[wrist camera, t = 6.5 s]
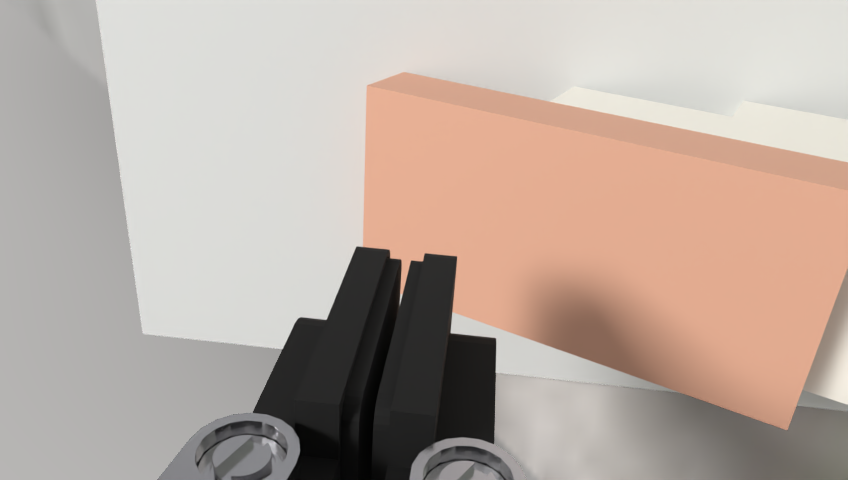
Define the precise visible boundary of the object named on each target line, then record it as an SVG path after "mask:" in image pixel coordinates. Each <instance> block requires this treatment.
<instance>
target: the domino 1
mask: <svg viewBox="0 0 848 480" xmlns="http://www.w3.org/2000/svg"><path fill="white" fill-rule="evenodd" d="M363 247H369V248H379V249H388V250H390V258H393V259H401V261H402V270H401V289H400V294H403V291H404V287H405V283H406V279H407V275H408V270H409V266H410V262H411V260H413V261H423V259H424V254H425V253H428V254H438V255H448V256H457V267H456V278H455V289H454V300H453V311H452V312H454V313H456V314H459V315H462V316H465V317H468V318H471V319H473V320H476V321H479V322H482V323H485V324H487V325H490V326H493V327H496V328H499V329H502V330H504V331H507V332H510V333H513V334H516V335H519V336H521V337H524V338H527V339H530V340H533V341H536V342H538V343H541V344H544V345H547V346H550V347H553V348H555V349H558V350H561V351H564V352H567V353H570V354H572V355H575V356H578V357H581V358H584V359H587V360H589V361H592V362H595V363H598V364H601V365H603V366H606V367H609V368H612V369H615V370H618V371H620V372H623V373H626V374H629V375H632V376H635V377H637V378H640V379H643V380H646V381H649V382H652V383H654V384H657V385H660V386H663V387H666V388H669V389H671V390H674V391H677V392H680V393H683V394H686V395H688V396H691V397H694V398H697V399H700V400H703V401H705V402H708V403H711V404H714V405H717V406H719V407H722V408H725V409H728V410H731V411H734V412H736V413H739V414H742V415H745V416H748V417H751V418H753V419H756V420H759V421H762V422H765V423H768V424H770V425H773V426H776V427H779V428H782V429H785V430H788V427H789V425H790V422H791V419H792V416H793V414H794V411H795V408H796V406H797V403H798V400H799V398H800V395H801V392H802V389H803V387H804V384H805V381H806V379H807V376H808V373H809V371H810V368H811V365H812V363H813V360H814V357H815V354H816V352H817V349H818V346H819V344H820V341H821V338H822V336H823V333H824V330H825V327H826V325H827V322H828V319H829V317H830V314H831V311H832V309H833V306H834V303H835V301H836V298H837V295H838V292H839V290H840V287H841V284H842V282H843V279H844V276H845V274H846V271H847V268H848V162H844V161H839V160H834V159H829V158H824V157H819V156H814V155H809V154H804V153H799V152H794V151H790V150H785V149H780V148H775V147H770V146H765V145H760V144H755V143H750V142H745V141H740V140H736V139H731V138H726V137H721V136H716V135H711V134H706V133H701V132H696V131H691V130H687V129H682V128H677V127H672V126H667V125H662V124H657V123H652V122H647V121H642V120H637V119H633V118H628V117H623V116H618V115H613V114H608V113H603V112H598V111H593V110H588V109H583V108H579V107H574V106H569V105H564V104H559V103H554V102H549V101H544V100H539V99H534V98H530V97H525V96H520V95H515V94H510V93H505V92H500V91H495V90H490V89H485V88H480V87H476V86H471V85H466V84H461V83H456V82H451V81H446V80H441V79H436V78H431V77H426V76H422V75H417V74H412V73H407V72H402V73H399V74H397V75H394V76H391V77H388V78H386V79H383V80H380V81H377V82H375V83H372V84H369V85H367V92H366V135H365V177H364V220H363Z"/></svg>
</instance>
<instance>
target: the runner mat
mask: <svg viewBox="0 0 848 480" xmlns="http://www.w3.org/2000/svg"><path fill="white" fill-rule="evenodd" d="M96 5H97V13H98V20H99V27H100V34H101V41H102V48H103V55H104V62H105V69H106V77H107V84H108V91H109V98H110V105H111V111H112V119H113V126H114V133H115V140H116V148H117V155H118V161H119V169H120V175H121V183H122V190H123V197H124V204H125V212H126V218H127V225H128V233H129V240H130V247H131V254H132V261H133V268H134V276H135V283H136V290H137V296H138V304H139V311H140V318H141V325H142V332H143V334H149V335H158V336H167V337H176V338H186V339H195V340H204V341H213V342H222V343H231V344H240V345H250V346H258V347H267V348H277V349H283V347H284V345H285V343H286V341H287V339H288V337H289V335H290V333H291V330H292V328H293V326H294V324H295V322H296V321H297V319H298V318H300V317H304V318H314V319H323V320H327V318H328V315H329V313H330V310H331V308H332V305H333V303H334V300H335V298H336V295H337V293H338V290H339V288H340V285H341V283H342V280H343V278H344V276H345V273H346V271H347V268H348V266H349V263H350V261H351V258H352V256H353V253H354V251H355V249H356V247H357V246H359V247H363V220H364V177H365V135H366V92H367V85H369V84H372V83H375V82H377V81H380V80H383V79H386V78H388V77H391V76H394V75H397V74H399V73H402V72H407V73H412V74H417V75H422V76H426V77H431V78H436V79H441V80H446V81H451V82H456V83H461V84H466V85H471V86H476V87H480V88H485V89H490V90H495V91H500V92H505V93H510V94H515V95H520V96H525V97H530V98H534V99H539V100H544V101H549V102H550V101H551V100H553V99H555V98H556V97H558V96H560V95H561V94H563V93H565V92H566V91H568V90H570V89H571V88H573V87H580V88H586V89H591V90H596V91H601V92H606V93H611V94H617V95H622V96H627V97H632V98H637V99H643V100H648V101H653V102H658V103H663V104H668V105H674V106H679V107H684V108H689V109H694V110H700V111H705V112H710V113H715V114H720V115H725V116H731V117H732V116H733V115H734V113H735V112H736V111H737V109H738V108H739V106H740V105H741V104H742V102H743V101H749V102H754V103H760V104H765V105H770V106H776V107H781V108H787V109H792V110H798V111H803V112H809V113H814V114H820V115H825V116H831V117H836V118H842V119H847V120H848V0H96ZM402 295H403V294H400V303H401V299H402ZM451 333H454V334H463V335H472V336H482V337H491V338H496V373H503V374H512V375H521V376H530V377H539V378H548V379H557V380H566V381H576V382H585V383H594V384H603V385H612V386H621V387H630V388H639V389H648V390H657V391H666V392H675V393H680V392H677V391H674V390H671V389H669V388H666V387H663V386H660V385H657V384H654V383H652V382H649V381H646V380H643V379H640V378H637V377H635V376H632V375H629V374H626V373H623V372H620V371H618V370H615V369H612V368H609V367H606V366H603V365H601V364H598V363H595V362H592V361H589V360H587V359H584V358H581V357H578V356H575V355H572V354H570V353H567V352H564V351H561V350H558V349H555V348H553V347H550V346H547V345H544V344H541V343H538V342H536V341H533V340H530V339H527V338H524V337H521V336H519V335H516V334H513V333H510V332H507V331H504V330H502V329H499V328H496V327H493V326H490V325H487V324H485V323H482V322H479V321H476V320H473V319H471V318H468V317H465V316H462V315H459V314H456V313H454V312H452V322H451ZM797 406H802V407H811V408H820V409H830V410H839V411H848V405H847V404H844V403H841V402H838V401H835V400H832V399H829V398H826V397H823V396H820V395H817V394H814V393H811V392H808V391H805V390H802V392H801V395H800V398H799V400H798V403H797Z"/></svg>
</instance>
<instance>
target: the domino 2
mask: <svg viewBox="0 0 848 480" xmlns="http://www.w3.org/2000/svg"><path fill="white" fill-rule="evenodd" d="M550 102H554V103H559V104H564V105H569V106H574V107H579V108H583V109H588V110H593V111H598V112H603V113H608V114H613V115H618V116H623V117H628V118H633V119H637V120H642V121H647V122H652V123H657V124H662V125H667V126H672V127H677V128H682V129H687V130H691V131H696V132H701V133H706V134H711V135H716V136H721V137H726V138H731V139H736V140H740V141H745V142H750V143H755V144H760V145H765V146H770V147H775V148H780V149H785V150H790V151H794V152H799V153H804V154H809V155H814V156H819V157H824V158H829V159H834V160H839V161H844V162H848V139H844V138H839V137H834V136H829V135H824V134H819V133H813V132H808V131H803V130H798V129H793V128H787V127H782V126H777V125H772V124H767V123H762V122H756V121H751V120H746V119H741V118H736V117H731V116H725V115H720V114H715V113H710V112H705V111H700V110H694V109H689V108H684V107H679V106H674V105H668V104H663V103H658V102H653V101H648V100H643V99H637V98H632V97H627V96H622V95H617V94H611V93H606V92H601V91H596V90H591V89H586V88H580V87H573V88H571V89H570V90H568V91H566V92H565V93H563V94H561V95H560V96H558V97H556V98H555V99H553V100H551V101H550ZM802 390H805V391H808V392H811V393H814V394H817V395H820V396H823V397H826V398H829V399H832V400H835V401H838V402H841V403H844V404H847V405H848V268H847V271H846V274H845V276H844V279H843V282H842V284H841V287H840V290H839V292H838V295H837V298H836V301H835V303H834V306H833V309H832V311H831V314H830V317H829V319H828V322H827V325H826V327H825V330H824V333H823V336H822V338H821V341H820V344H819V346H818V349H817V352H816V354H815V357H814V360H813V363H812V365H811V368H810V371H809V373H808V376H807V379H806V381H805V384H804V387H803V389H802Z"/></svg>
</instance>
